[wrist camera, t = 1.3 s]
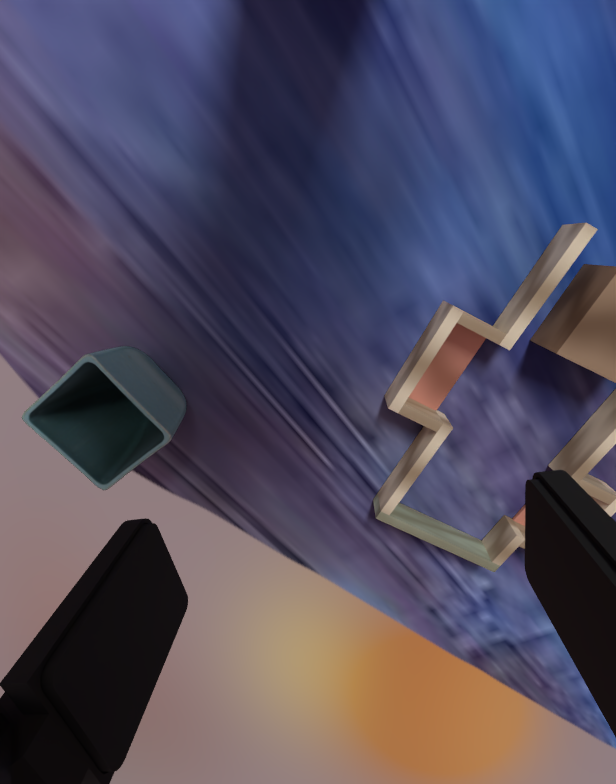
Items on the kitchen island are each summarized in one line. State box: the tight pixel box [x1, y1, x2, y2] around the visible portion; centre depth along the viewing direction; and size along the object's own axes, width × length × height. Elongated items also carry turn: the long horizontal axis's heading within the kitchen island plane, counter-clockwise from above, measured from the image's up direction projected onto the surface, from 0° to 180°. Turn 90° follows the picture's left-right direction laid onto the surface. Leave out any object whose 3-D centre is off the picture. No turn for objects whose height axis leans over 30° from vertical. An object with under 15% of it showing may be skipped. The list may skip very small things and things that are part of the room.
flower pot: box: [22, 346, 187, 490], centre depth 33 cm, size 9×9×9 cm
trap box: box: [373, 223, 616, 572], centre depth 34 cm, size 30×24×3 cm
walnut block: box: [530, 264, 616, 383], centre depth 30 cm, size 7×7×4 cm
